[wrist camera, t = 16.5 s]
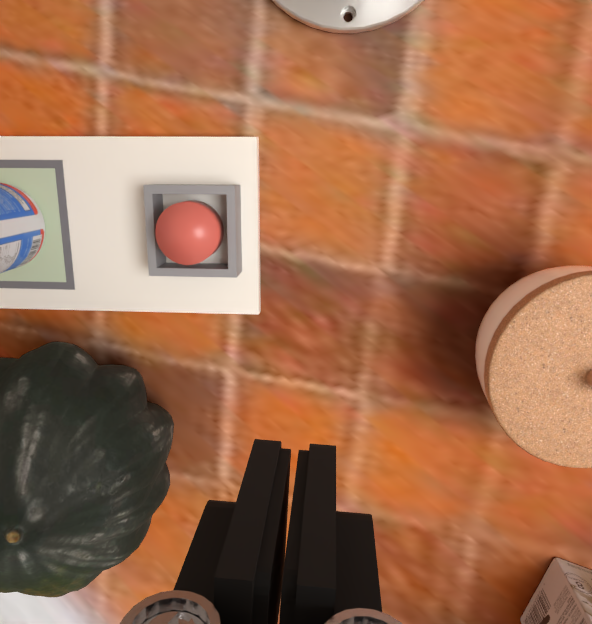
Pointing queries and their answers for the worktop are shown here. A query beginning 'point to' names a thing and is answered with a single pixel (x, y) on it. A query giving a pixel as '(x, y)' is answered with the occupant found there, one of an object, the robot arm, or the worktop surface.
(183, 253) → the button
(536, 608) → the coffee box
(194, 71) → the worktop surface
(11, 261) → the pill bottle
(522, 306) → the lidded jar
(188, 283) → the white flat board
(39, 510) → the squash
